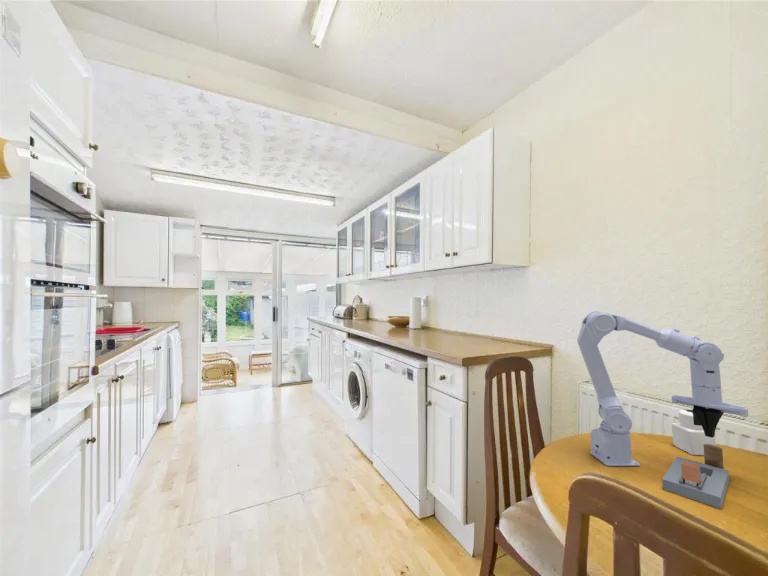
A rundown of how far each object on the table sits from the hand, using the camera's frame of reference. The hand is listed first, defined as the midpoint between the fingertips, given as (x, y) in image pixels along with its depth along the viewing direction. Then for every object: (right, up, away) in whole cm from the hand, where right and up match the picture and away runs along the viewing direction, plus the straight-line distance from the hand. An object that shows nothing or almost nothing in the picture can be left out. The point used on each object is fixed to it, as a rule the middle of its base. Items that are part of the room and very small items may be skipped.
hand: (709, 436), depth 85 cm
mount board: (-9, -10, -5) cm, 15 cm away
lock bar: (-12, -7, -8) cm, 16 cm away
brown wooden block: (+2, -10, +1) cm, 10 cm away
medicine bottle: (+8, -11, +13) cm, 19 cm away
